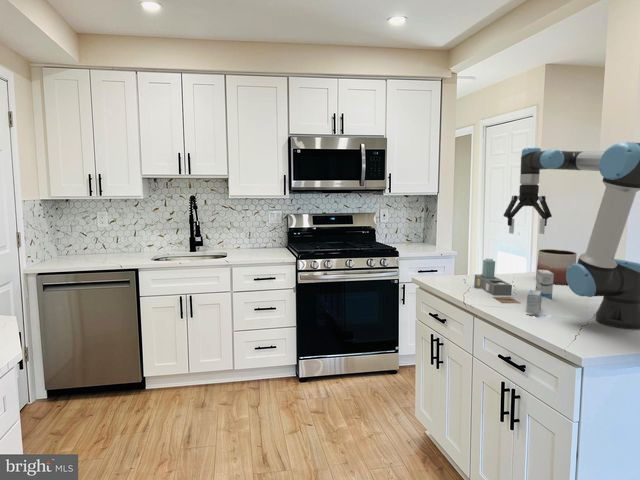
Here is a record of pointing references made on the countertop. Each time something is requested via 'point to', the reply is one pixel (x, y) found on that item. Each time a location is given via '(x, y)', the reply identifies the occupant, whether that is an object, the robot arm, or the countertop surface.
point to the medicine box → (534, 302)
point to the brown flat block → (506, 300)
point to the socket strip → (493, 285)
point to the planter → (556, 263)
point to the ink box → (545, 283)
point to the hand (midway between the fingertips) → (526, 233)
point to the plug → (488, 269)
